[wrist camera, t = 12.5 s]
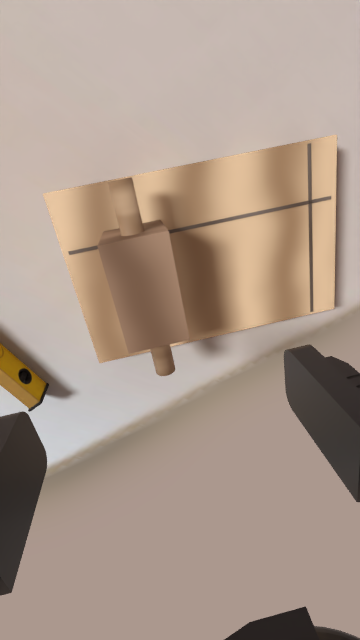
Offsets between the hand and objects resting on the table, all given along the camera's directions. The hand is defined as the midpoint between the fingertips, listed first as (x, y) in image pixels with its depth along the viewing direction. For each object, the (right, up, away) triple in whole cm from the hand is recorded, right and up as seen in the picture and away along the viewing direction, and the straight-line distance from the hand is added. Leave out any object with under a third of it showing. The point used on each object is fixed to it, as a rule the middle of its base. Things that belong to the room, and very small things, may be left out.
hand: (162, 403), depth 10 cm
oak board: (+2, +8, +16) cm, 18 cm away
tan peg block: (-2, +6, +14) cm, 15 cm away
